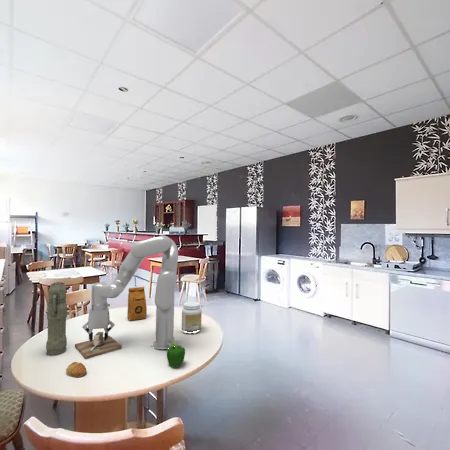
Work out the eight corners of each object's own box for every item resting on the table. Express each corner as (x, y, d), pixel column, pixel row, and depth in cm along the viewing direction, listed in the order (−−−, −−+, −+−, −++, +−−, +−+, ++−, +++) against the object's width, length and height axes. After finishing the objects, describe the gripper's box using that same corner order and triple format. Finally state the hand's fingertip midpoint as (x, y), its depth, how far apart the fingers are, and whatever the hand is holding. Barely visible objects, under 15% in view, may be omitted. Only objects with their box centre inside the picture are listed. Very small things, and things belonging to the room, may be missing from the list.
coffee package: (147, 319, 193) (148, 287, 193) (128, 322, 187) (129, 289, 187) (144, 315, 202) (145, 285, 202) (126, 317, 196) (127, 286, 196)
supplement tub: (205, 331, 174) (205, 304, 174) (190, 336, 165) (190, 307, 165) (192, 326, 182) (193, 300, 182) (177, 331, 173) (178, 303, 173)
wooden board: (122, 348, 147) (122, 345, 147) (85, 359, 135) (85, 355, 135) (109, 338, 161) (109, 335, 161) (74, 346, 148) (74, 343, 148)
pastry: (90, 373, 123) (91, 365, 123) (75, 380, 117) (75, 371, 117) (79, 367, 128) (79, 359, 128) (64, 373, 122) (64, 365, 122)
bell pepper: (188, 365, 131) (188, 344, 131) (173, 371, 126) (173, 349, 126) (178, 358, 137) (178, 338, 137) (163, 364, 132) (164, 343, 132)
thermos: (67, 345, 150) (69, 280, 150) (64, 355, 139) (66, 285, 139) (48, 348, 146) (50, 281, 146) (43, 358, 135) (45, 286, 135)
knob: (95, 341, 151) (95, 331, 151) (106, 342, 151) (106, 331, 151) (85, 351, 139) (85, 340, 139) (96, 351, 139) (97, 340, 139)
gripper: (117, 303, 153) (116, 336, 153) (83, 305, 150) (82, 338, 150) (115, 307, 146) (114, 342, 146) (79, 309, 142) (78, 344, 142)
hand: (98, 339), depth 148 cm, fingers open, 6 cm apart
